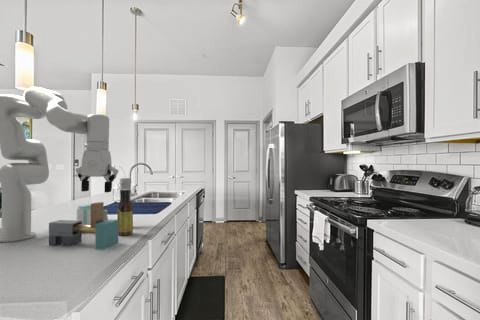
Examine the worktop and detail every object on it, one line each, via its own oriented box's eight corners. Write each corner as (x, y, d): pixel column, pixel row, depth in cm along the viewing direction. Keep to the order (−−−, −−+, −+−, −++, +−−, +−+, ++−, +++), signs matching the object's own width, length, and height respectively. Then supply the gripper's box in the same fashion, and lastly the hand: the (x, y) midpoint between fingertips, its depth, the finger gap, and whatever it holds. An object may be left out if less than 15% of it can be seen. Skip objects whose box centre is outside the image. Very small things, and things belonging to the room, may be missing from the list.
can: (77, 230, 124) (77, 204, 124) (94, 228, 127) (94, 203, 127) (75, 233, 118) (75, 206, 118) (93, 232, 121) (93, 205, 121)
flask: (115, 231, 122) (116, 209, 122) (103, 235, 115) (103, 212, 115) (103, 230, 124) (103, 208, 125) (90, 233, 118) (90, 211, 118)
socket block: (95, 248, 96) (95, 223, 96) (109, 242, 104) (109, 219, 104) (104, 249, 95) (105, 224, 96) (118, 242, 103) (118, 219, 104)
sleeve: (47, 245, 100) (47, 223, 101) (60, 241, 106) (60, 219, 106) (70, 246, 99) (71, 223, 99) (82, 242, 105) (82, 220, 105)
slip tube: (67, 233, 100) (67, 203, 101) (75, 231, 104) (75, 201, 104) (105, 235, 98) (105, 204, 98) (112, 232, 102) (112, 202, 102)
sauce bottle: (120, 232, 119) (120, 188, 119) (134, 232, 120) (134, 188, 120) (114, 236, 112) (115, 190, 113) (129, 236, 113) (130, 189, 113)
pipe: (126, 229, 126) (127, 166, 126) (115, 228, 127) (115, 166, 128) (133, 226, 131) (133, 166, 132) (122, 226, 132) (122, 166, 133)
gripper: (70, 146, 99) (68, 191, 99) (112, 146, 96) (110, 193, 96) (84, 147, 106) (83, 189, 106) (124, 147, 104) (123, 191, 103)
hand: (96, 191), depth 101 cm, fingers open, 9 cm apart
